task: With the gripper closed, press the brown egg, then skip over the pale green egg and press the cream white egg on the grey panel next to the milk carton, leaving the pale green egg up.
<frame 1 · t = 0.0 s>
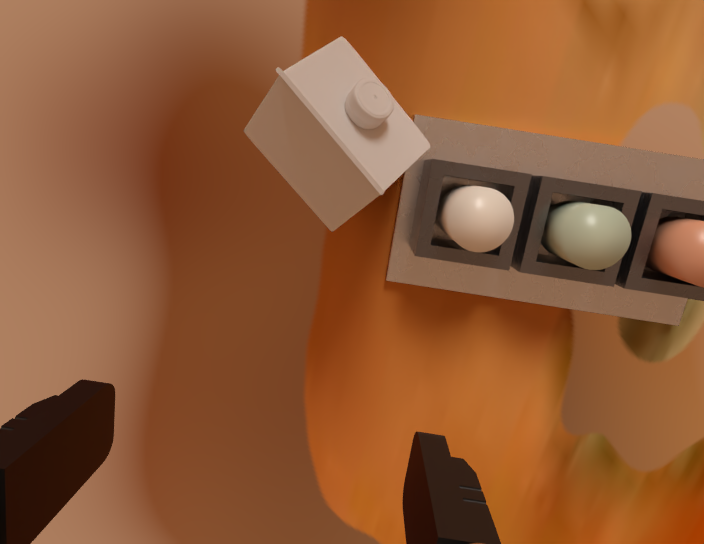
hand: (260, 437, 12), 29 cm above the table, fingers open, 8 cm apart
cream white egg: (472, 216, 33), point 6 cm above the table, slide at 0.0 cm
pale green egg: (581, 233, 33), point 6 cm above the table, slide at 0.0 cm
milk carton: (348, 149, 39), on the table
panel: (547, 223, 39), on the table
brown egg: (689, 250, 33), point 6 cm above the table, slide at 0.0 cm
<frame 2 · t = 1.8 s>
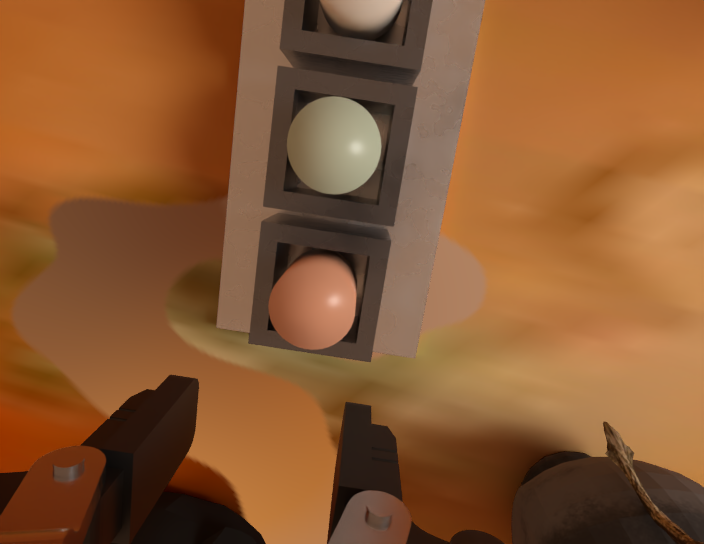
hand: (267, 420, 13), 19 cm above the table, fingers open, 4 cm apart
pitcher: (563, 474, 35), on the table
pale green egg: (337, 148, 24), point 6 cm above the table, slide at 0.0 cm
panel: (343, 152, 30), on the table
brown egg: (317, 295, 25), point 6 cm above the table, slide at 0.0 cm
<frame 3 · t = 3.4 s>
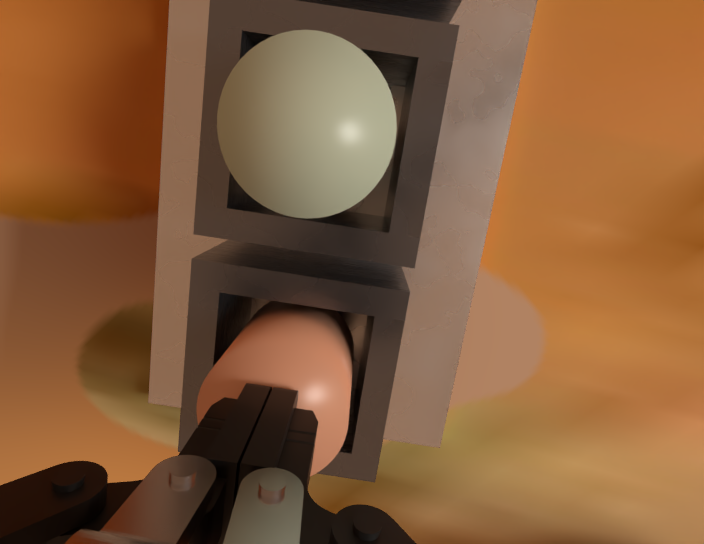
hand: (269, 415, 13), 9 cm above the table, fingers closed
pale green egg: (317, 135, 14), point 6 cm above the table, slide at 0.0 cm
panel: (333, 145, 20), on the table
brown egg: (287, 377, 16), point 6 cm above the table, slide at -0.2 cm, touching gripper
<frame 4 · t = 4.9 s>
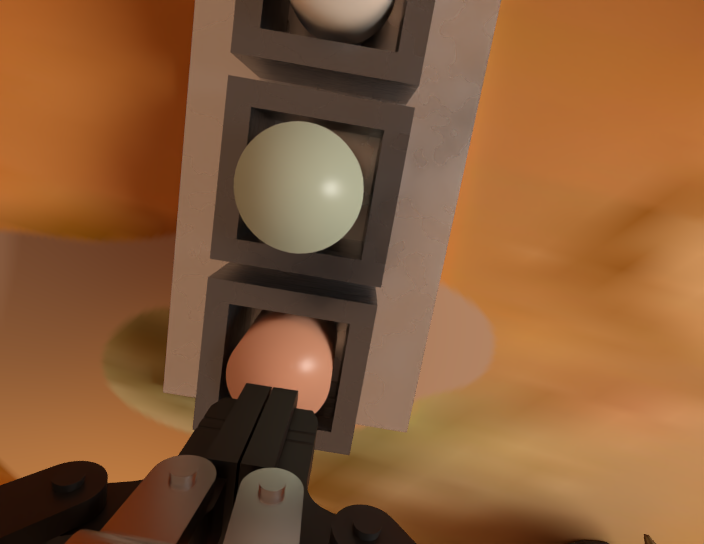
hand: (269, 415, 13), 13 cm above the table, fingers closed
pale green egg: (307, 186, 18), point 6 cm above the table, slide at 0.0 cm
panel: (321, 181, 24), on the table
brown egg: (287, 354, 22), point 4 cm above the table, slide at -2.0 cm
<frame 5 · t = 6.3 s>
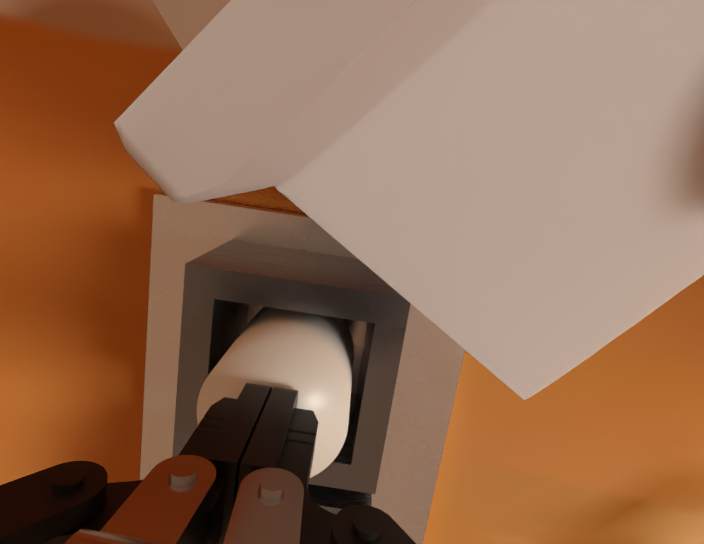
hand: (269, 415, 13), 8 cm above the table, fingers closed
cream white egg: (287, 379, 16), point 6 cm above the table, slide at -0.7 cm, touching gripper
milk carton: (423, 110, 19), on the table
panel: (288, 474, 23), on the table
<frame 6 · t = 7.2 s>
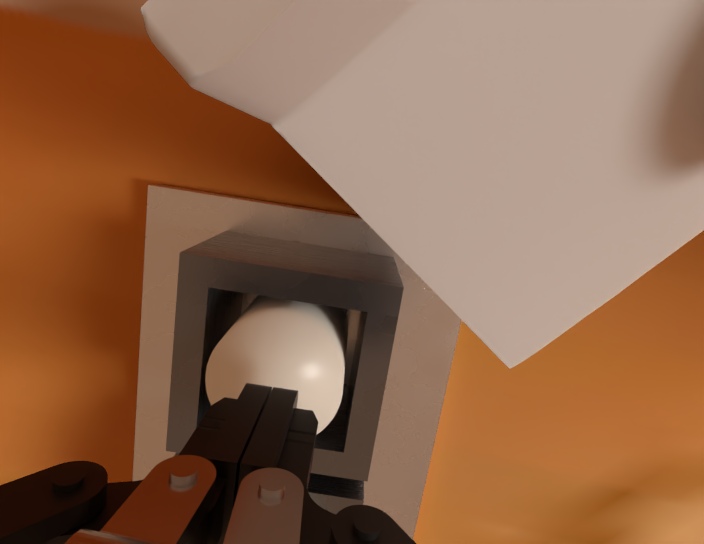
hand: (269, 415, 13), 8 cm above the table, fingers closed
cream white egg: (286, 353, 17), point 4 cm above the table, slide at -2.0 cm
milk carton: (416, 104, 19), on the table
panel: (281, 465, 23), on the table
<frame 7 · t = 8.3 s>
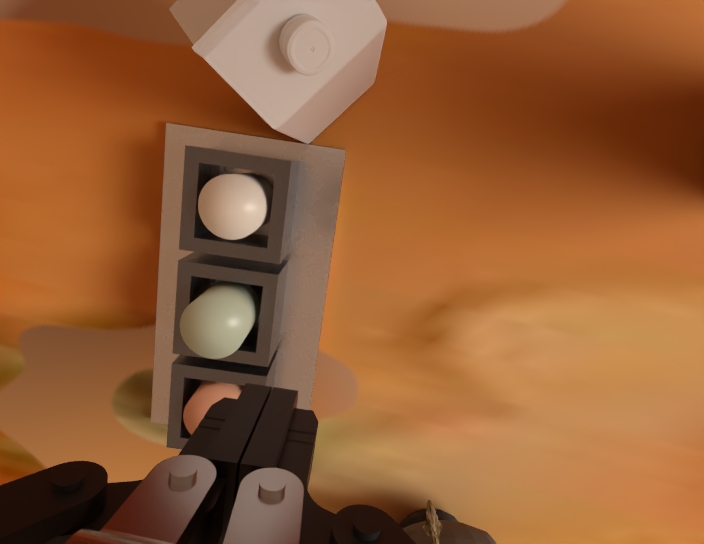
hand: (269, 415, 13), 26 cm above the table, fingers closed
cream white egg: (239, 204, 33), point 4 cm above the table, slide at -2.0 cm
pitcher: (427, 525, 45), on the table
pale green egg: (223, 316, 33), point 6 cm above the table, slide at 0.0 cm
milk carton: (311, 78, 36), on the table
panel: (244, 292, 39), on the table
brown egg: (221, 401, 37), point 4 cm above the table, slide at -2.0 cm
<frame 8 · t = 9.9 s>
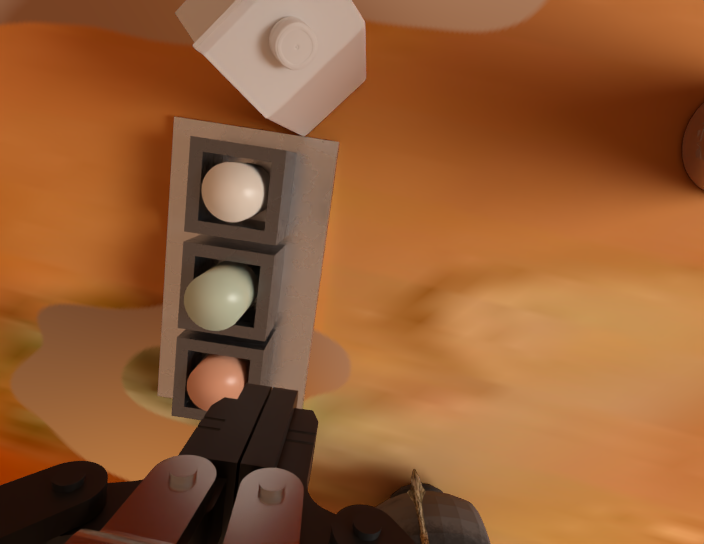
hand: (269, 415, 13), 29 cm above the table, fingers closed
cream white egg: (240, 190, 36), point 4 cm above the table, slide at -2.0 cm
pitcher: (416, 499, 47), on the table
pale green egg: (223, 293, 36), point 6 cm above the table, slide at 0.0 cm
milk carton: (307, 75, 38), on the table
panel: (244, 275, 42), on the table
brown egg: (222, 374, 40), point 4 cm above the table, slide at -2.0 cm
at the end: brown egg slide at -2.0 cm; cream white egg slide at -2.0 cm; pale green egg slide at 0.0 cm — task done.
